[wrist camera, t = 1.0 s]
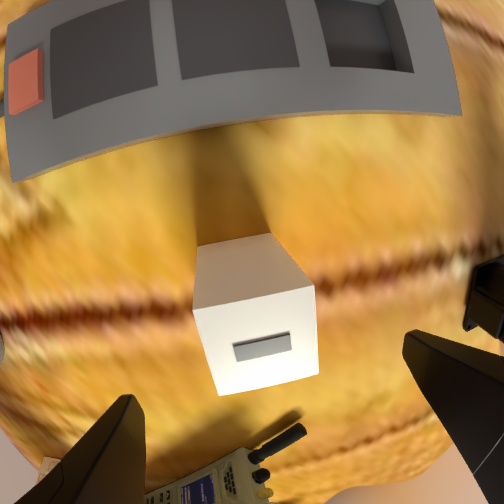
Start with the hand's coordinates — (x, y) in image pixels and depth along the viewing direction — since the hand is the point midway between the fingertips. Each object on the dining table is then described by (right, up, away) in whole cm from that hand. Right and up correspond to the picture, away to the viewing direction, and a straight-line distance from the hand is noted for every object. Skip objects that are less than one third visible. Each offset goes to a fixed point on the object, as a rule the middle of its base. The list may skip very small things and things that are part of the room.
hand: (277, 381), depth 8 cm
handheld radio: (-6, -18, +15) cm, 24 cm away
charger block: (-1, +3, +8) cm, 9 cm away
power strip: (-5, +15, +4) cm, 16 cm away
